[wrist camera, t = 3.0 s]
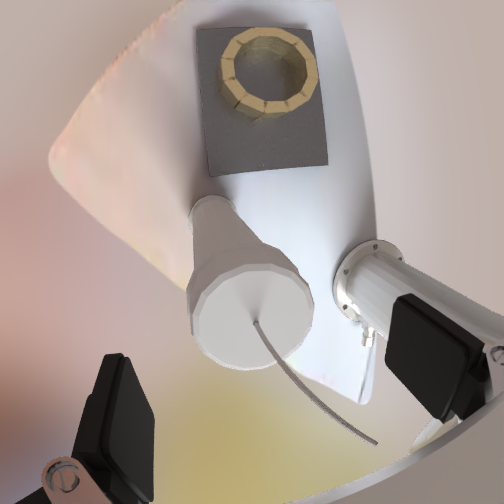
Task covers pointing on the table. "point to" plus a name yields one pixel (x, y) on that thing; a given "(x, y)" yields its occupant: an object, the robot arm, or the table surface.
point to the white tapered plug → (246, 297)
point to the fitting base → (257, 134)
